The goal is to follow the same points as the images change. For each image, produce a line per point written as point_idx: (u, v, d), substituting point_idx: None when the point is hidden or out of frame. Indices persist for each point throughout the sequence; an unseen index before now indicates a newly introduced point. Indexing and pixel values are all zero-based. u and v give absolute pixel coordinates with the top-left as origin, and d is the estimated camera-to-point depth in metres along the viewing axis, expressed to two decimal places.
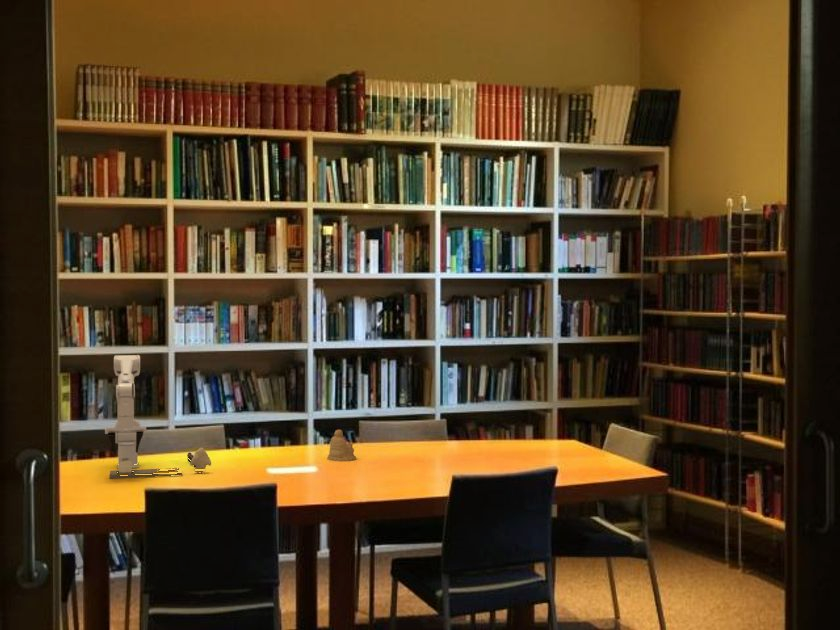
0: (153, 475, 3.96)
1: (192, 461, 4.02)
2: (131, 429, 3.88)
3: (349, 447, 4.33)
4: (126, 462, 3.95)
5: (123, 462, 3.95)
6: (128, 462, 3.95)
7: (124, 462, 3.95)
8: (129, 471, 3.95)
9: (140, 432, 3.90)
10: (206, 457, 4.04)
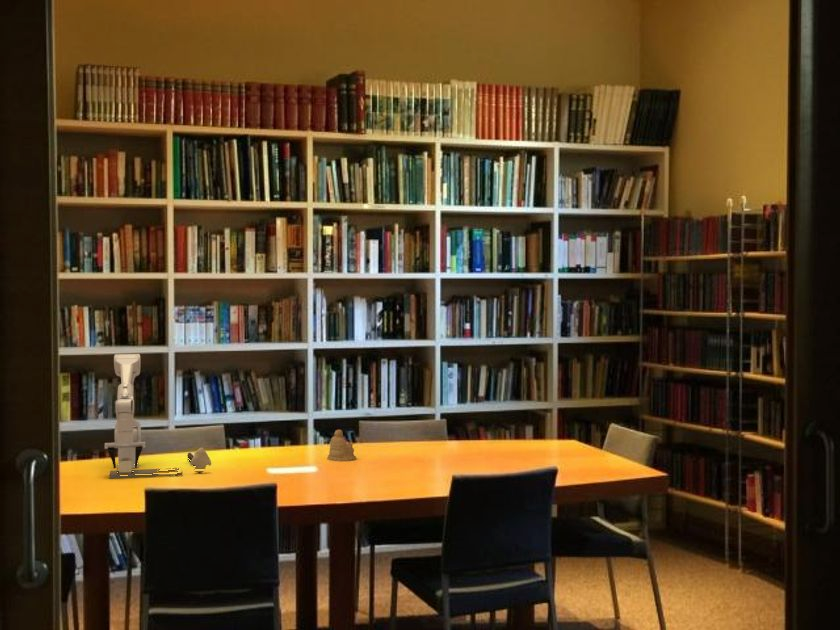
0: (153, 475, 3.96)
1: (192, 461, 4.02)
2: (130, 444, 3.95)
3: (349, 447, 4.33)
4: (126, 462, 3.95)
5: (123, 462, 3.95)
6: (128, 462, 3.95)
7: (124, 462, 3.95)
8: (129, 471, 3.95)
9: (139, 447, 3.97)
10: (206, 457, 4.04)
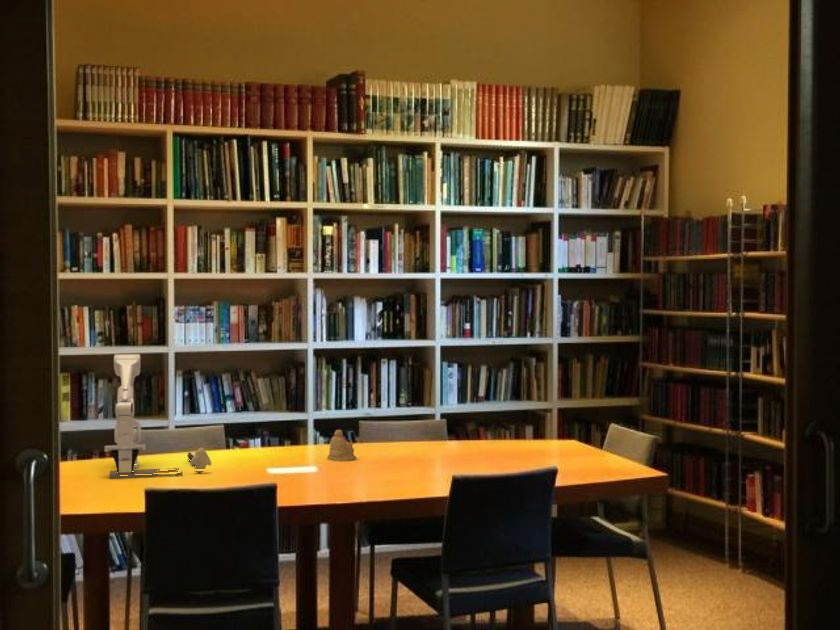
0: (153, 475, 3.96)
1: (192, 461, 4.02)
2: (130, 447, 3.95)
3: (349, 447, 4.33)
4: (126, 462, 3.95)
5: (123, 462, 3.95)
6: (128, 462, 3.95)
7: (124, 462, 3.95)
8: (129, 471, 3.95)
9: (136, 450, 3.97)
10: (206, 457, 4.04)
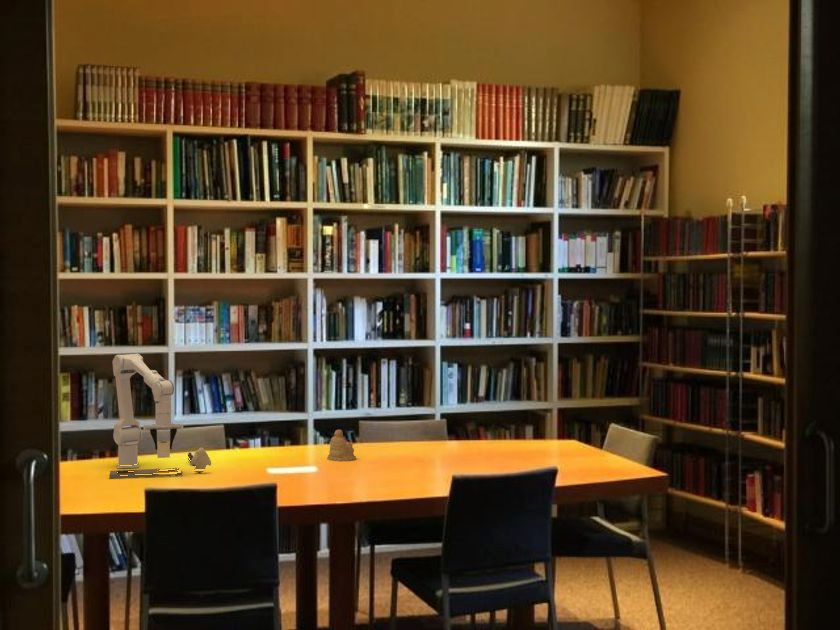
0: (153, 475, 3.96)
1: (192, 461, 4.02)
2: (169, 426, 3.98)
3: (349, 447, 4.33)
4: (164, 444, 3.98)
5: (161, 444, 3.98)
6: (166, 444, 3.98)
7: (162, 444, 3.98)
8: (167, 453, 3.98)
9: (174, 429, 4.00)
10: (206, 457, 4.04)
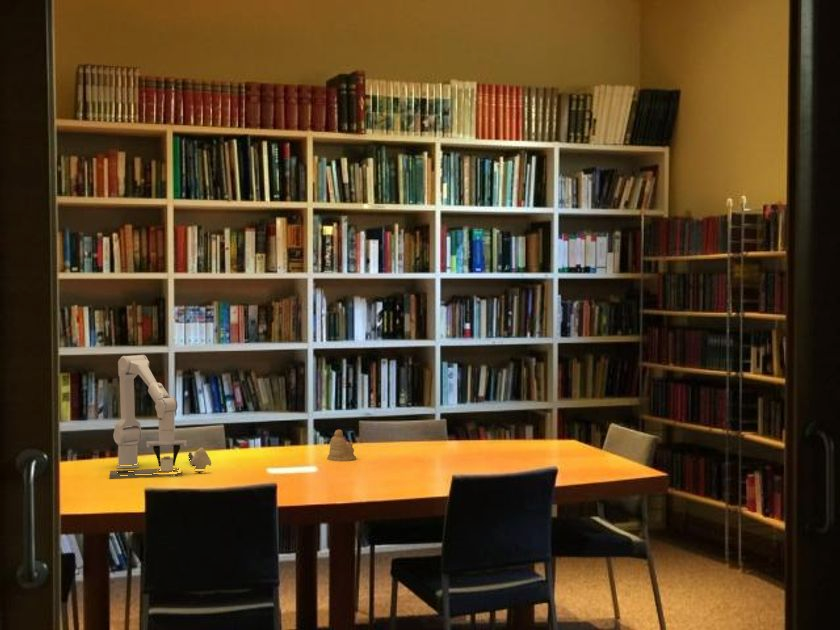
0: (153, 475, 3.96)
1: (192, 461, 4.02)
2: (172, 443, 3.99)
3: (349, 447, 4.33)
4: (168, 461, 3.98)
5: (165, 461, 3.98)
6: (170, 461, 3.99)
7: (166, 461, 3.98)
8: (171, 469, 3.99)
9: (177, 446, 4.01)
10: (206, 457, 4.04)
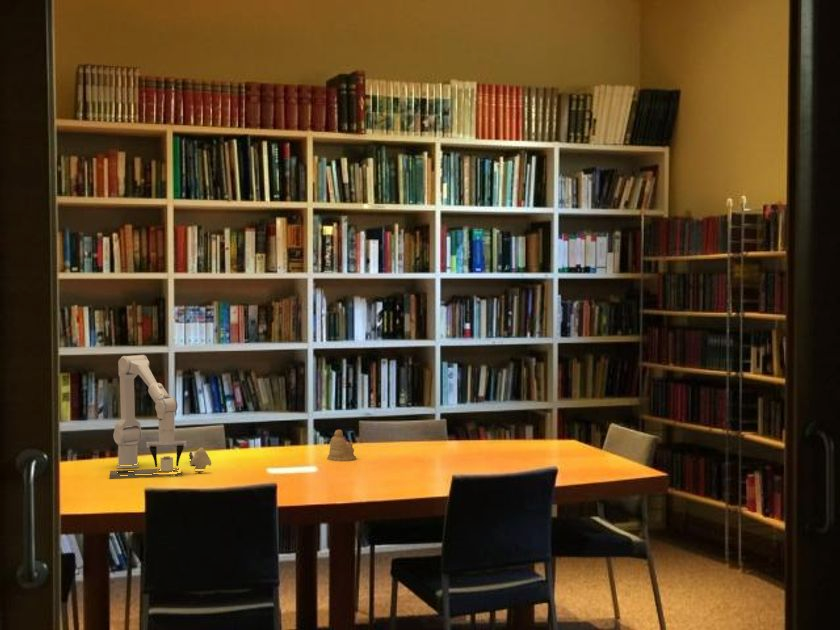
0: (153, 475, 3.96)
1: (192, 461, 4.02)
2: (172, 443, 3.99)
3: (349, 447, 4.33)
4: (168, 461, 3.98)
5: (165, 461, 3.98)
6: (170, 461, 3.99)
7: (166, 461, 3.98)
8: (171, 469, 3.99)
9: (180, 446, 4.01)
10: (206, 457, 4.04)
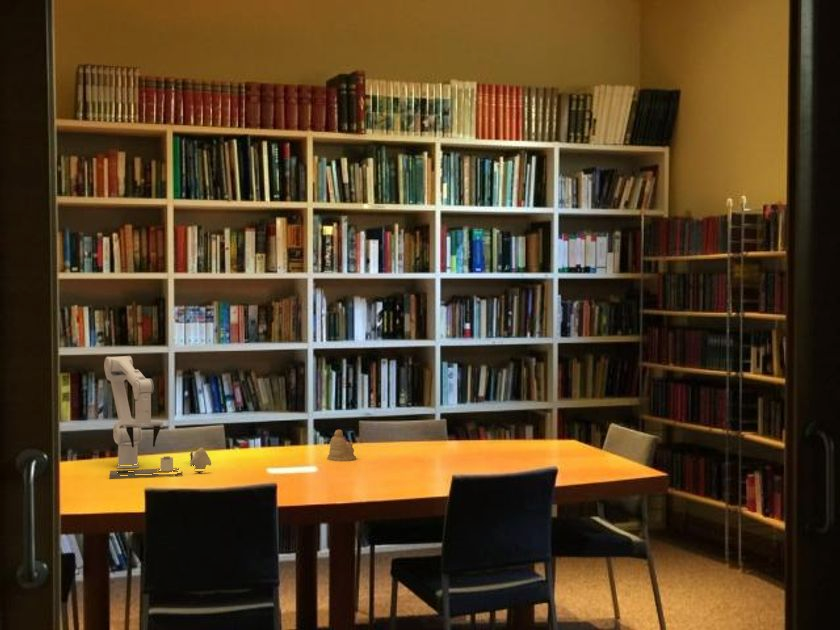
0: (153, 475, 3.96)
1: (192, 461, 4.02)
2: (148, 424, 4.02)
3: (349, 447, 4.33)
4: (168, 461, 3.98)
5: (165, 461, 3.98)
6: (170, 461, 3.99)
7: (166, 461, 3.98)
8: (171, 469, 3.99)
9: (157, 427, 4.04)
10: (206, 457, 4.04)
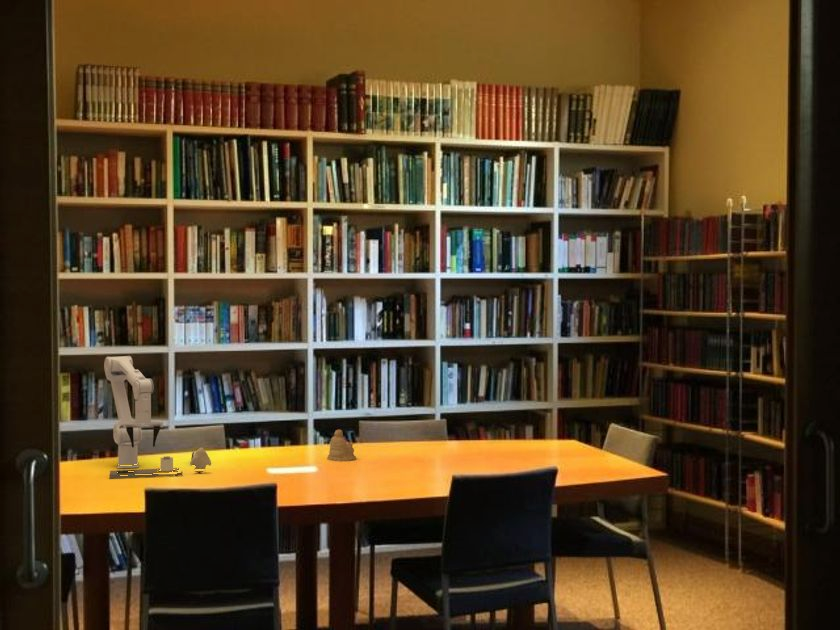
0: (153, 475, 3.96)
1: (192, 461, 4.02)
2: (148, 424, 4.02)
3: (349, 447, 4.33)
4: (168, 461, 3.98)
5: (165, 461, 3.98)
6: (170, 461, 3.99)
7: (166, 461, 3.98)
8: (171, 469, 3.99)
9: (157, 427, 4.04)
10: (206, 457, 4.04)
